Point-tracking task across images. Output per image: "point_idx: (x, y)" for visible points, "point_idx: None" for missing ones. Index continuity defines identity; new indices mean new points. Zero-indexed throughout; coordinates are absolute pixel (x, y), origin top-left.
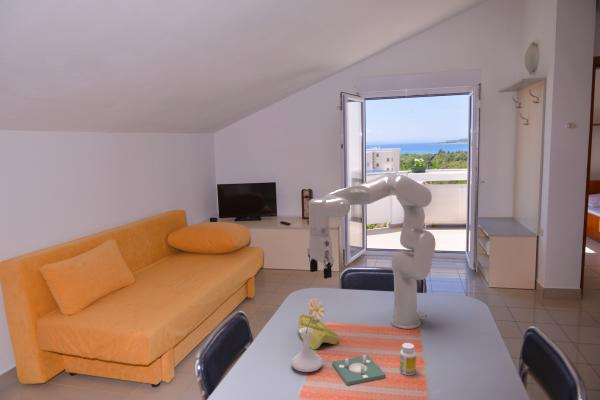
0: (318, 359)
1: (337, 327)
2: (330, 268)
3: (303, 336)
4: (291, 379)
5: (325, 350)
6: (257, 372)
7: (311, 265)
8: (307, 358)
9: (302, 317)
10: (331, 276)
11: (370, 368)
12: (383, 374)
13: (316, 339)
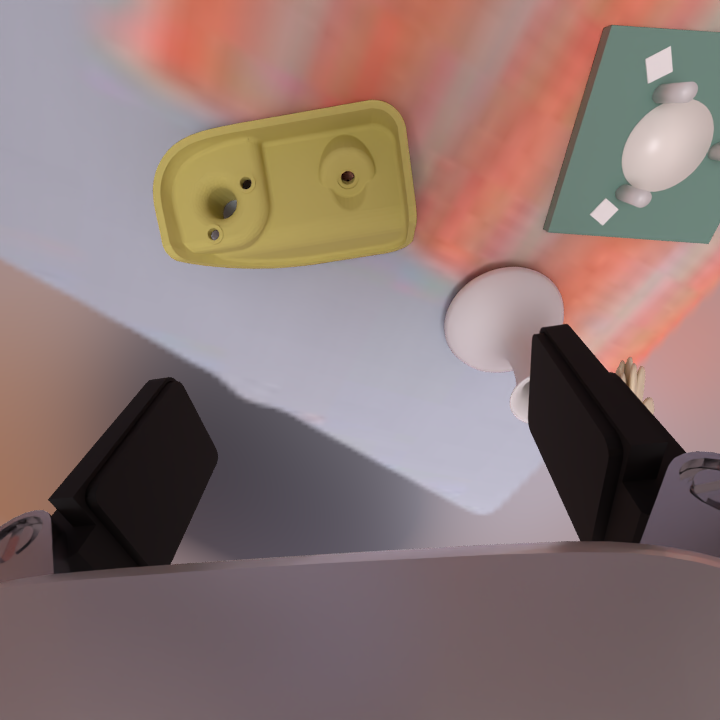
0: (547, 300)
1: (208, 20)
2: (692, 467)
3: None
4: None
5: (423, 204)
6: (445, 440)
7: (181, 535)
8: None
9: (183, 245)
10: (566, 327)
11: (716, 88)
12: None
13: (372, 234)
